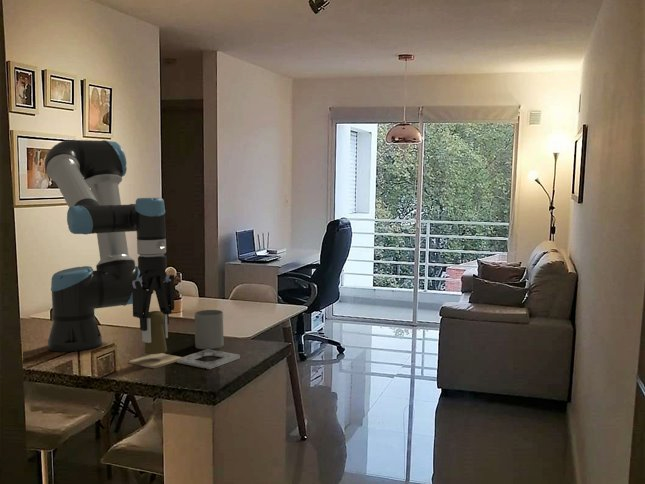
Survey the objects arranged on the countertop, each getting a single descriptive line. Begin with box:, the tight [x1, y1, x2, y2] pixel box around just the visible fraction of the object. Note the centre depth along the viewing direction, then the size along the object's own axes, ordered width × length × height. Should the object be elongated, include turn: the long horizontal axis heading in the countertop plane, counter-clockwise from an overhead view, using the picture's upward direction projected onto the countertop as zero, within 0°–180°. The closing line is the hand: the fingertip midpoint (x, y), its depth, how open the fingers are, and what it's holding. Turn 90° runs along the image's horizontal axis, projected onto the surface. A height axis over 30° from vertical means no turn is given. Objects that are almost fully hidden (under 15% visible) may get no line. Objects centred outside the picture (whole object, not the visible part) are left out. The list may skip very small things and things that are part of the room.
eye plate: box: [176, 349, 241, 370], centre depth 172 cm, size 12×12×1 cm
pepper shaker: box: [144, 310, 168, 355], centre depth 171 cm, size 6×6×11 cm
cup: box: [193, 309, 225, 350], centre depth 187 cm, size 8×8×10 cm
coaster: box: [128, 353, 183, 370], centre depth 172 cm, size 10×10×1 cm
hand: (155, 339), depth 171 cm, fingers closed on pepper shaker, 5 cm apart
